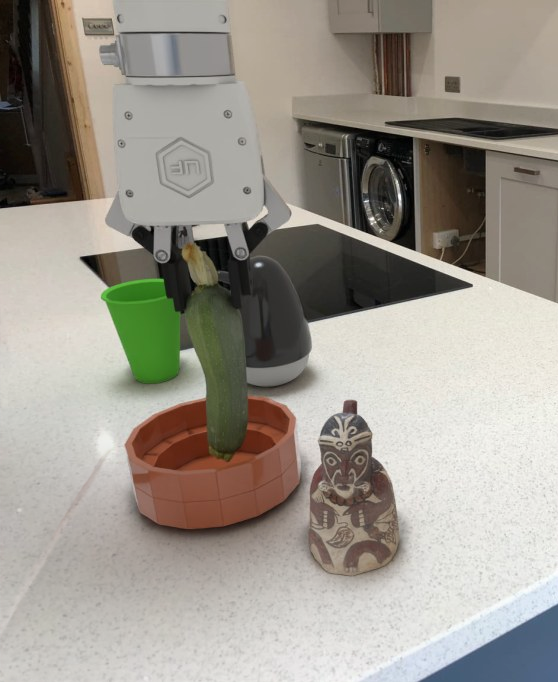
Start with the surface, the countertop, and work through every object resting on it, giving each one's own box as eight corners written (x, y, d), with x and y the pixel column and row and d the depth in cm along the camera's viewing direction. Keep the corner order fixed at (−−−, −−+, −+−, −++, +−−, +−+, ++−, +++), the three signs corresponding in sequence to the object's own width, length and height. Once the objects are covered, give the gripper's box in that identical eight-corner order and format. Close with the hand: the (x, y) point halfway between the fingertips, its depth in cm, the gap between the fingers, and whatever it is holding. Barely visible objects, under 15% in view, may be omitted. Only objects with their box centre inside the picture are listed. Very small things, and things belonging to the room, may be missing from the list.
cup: (100, 385, 87) (82, 298, 83) (151, 357, 95) (136, 276, 91) (164, 395, 85) (148, 305, 81) (210, 364, 93) (198, 281, 89)
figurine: (296, 570, 56) (281, 431, 52) (326, 515, 63) (315, 388, 58) (387, 579, 55) (380, 438, 51) (407, 523, 62) (402, 394, 57)
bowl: (117, 544, 59) (103, 480, 57) (159, 454, 72) (149, 400, 70) (295, 529, 61) (288, 466, 59) (305, 444, 74) (300, 390, 72)
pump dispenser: (212, 376, 90) (195, 255, 84) (289, 354, 96) (278, 240, 90) (249, 405, 82) (233, 274, 77) (330, 379, 88) (320, 257, 83)
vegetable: (247, 443, 67) (218, 229, 60) (269, 462, 64) (240, 238, 57) (200, 459, 65) (163, 238, 57) (220, 480, 62) (184, 248, 54)
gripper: (35, 64, 48) (88, 326, 55) (294, 62, 50) (314, 316, 57) (75, 62, 55) (118, 295, 62) (301, 60, 57) (319, 287, 64)
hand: (212, 302), depth 59 cm, fingers closed on vegetable, 3 cm apart
